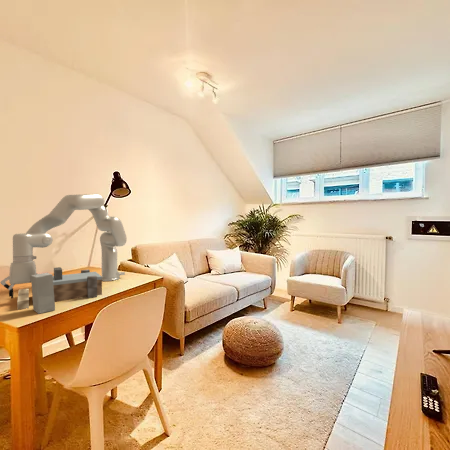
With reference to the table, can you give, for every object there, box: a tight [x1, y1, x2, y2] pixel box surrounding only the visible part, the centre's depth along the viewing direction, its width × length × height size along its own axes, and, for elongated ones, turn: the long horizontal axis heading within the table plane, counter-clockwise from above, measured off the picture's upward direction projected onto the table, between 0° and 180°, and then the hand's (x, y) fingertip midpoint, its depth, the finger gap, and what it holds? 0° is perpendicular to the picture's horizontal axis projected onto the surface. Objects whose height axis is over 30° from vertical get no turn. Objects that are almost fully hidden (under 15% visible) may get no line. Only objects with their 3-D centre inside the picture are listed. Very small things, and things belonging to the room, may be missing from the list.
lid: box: [53, 266, 102, 285], centre depth 136 cm, size 26×16×8 cm, turn 127°
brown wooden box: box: [53, 269, 103, 302], centre depth 136 cm, size 26×23×10 cm
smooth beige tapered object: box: [16, 288, 30, 311], centre depth 124 cm, size 4×24×4 cm, turn 37°
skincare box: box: [30, 272, 56, 314], centre depth 113 cm, size 8×7×16 cm
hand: (23, 295), depth 124 cm, fingers open, 7 cm apart
